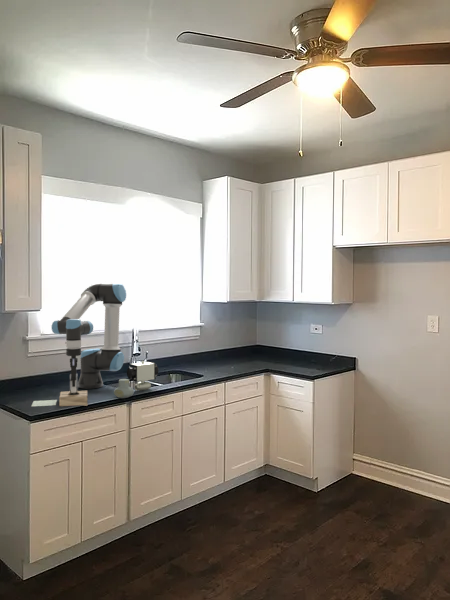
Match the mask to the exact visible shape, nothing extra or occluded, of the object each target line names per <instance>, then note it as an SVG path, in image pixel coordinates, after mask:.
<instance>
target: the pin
mask: <svg viewBox="0 0 450 600" xmlns="http://www.w3.org/2000/svg"><path fill="white" fill-rule="evenodd" d="M78 377H79V376H78V373H76V392H75V393H71V381H70V379H71V373H70V374H69V391H70V395H78V391H79V390H78V389H79V387H78V381H79V379H78Z"/></svg>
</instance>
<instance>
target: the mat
mask: <svg viewBox="0 0 450 600" xmlns="http://www.w3.org/2000/svg"><path fill="white" fill-rule="evenodd" d="M57 402H58V399H50V400H49V399H48V400H33V402H32V404H31V406H30V407H47V406H56V405H57Z"/></svg>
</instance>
